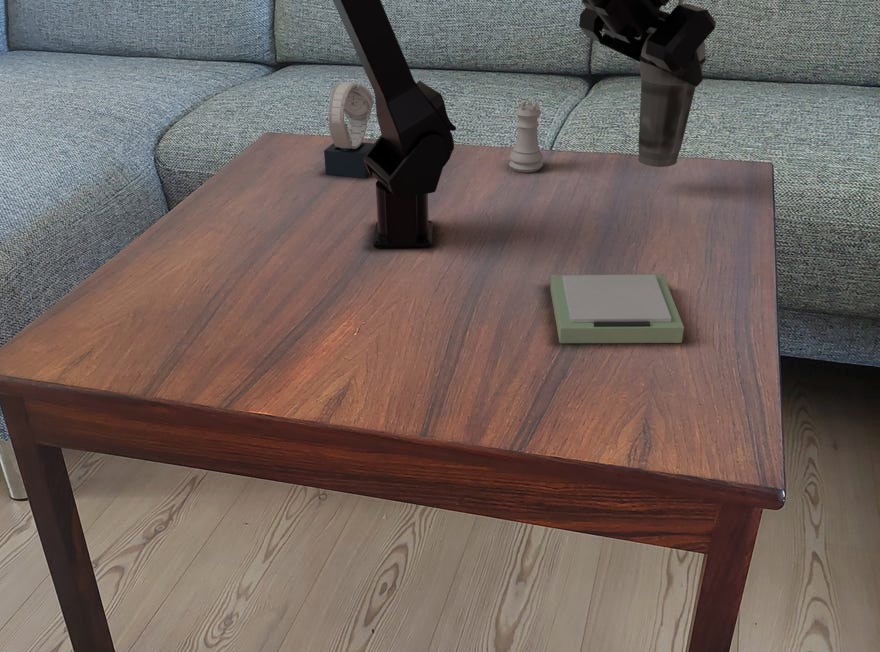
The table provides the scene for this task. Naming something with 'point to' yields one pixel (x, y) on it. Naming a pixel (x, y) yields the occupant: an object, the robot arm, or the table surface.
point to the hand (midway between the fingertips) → (680, 75)
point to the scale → (615, 309)
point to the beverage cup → (663, 111)
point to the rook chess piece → (527, 140)
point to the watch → (348, 145)
